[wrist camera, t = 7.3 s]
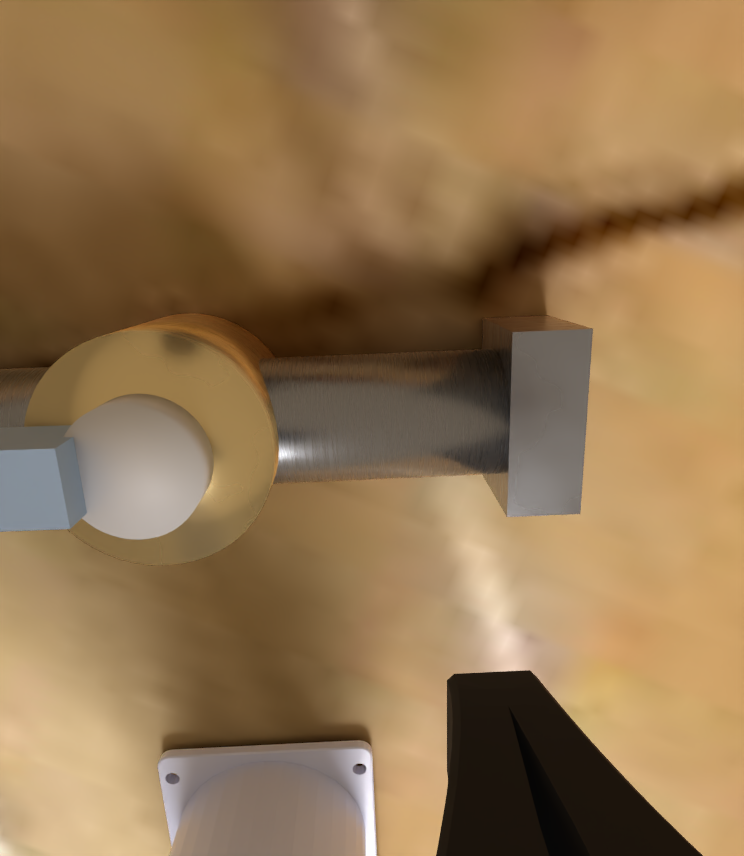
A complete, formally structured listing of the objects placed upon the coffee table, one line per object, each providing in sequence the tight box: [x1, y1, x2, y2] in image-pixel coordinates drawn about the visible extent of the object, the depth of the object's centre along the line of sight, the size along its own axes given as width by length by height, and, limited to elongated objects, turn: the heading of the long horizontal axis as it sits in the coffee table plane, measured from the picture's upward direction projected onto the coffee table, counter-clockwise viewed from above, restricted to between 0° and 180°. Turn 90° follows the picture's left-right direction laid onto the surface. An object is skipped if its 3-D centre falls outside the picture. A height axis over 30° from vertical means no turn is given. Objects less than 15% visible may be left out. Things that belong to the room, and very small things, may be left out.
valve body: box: [0, 313, 593, 565], centre depth 16 cm, size 22×6×4 cm, turn 92°
